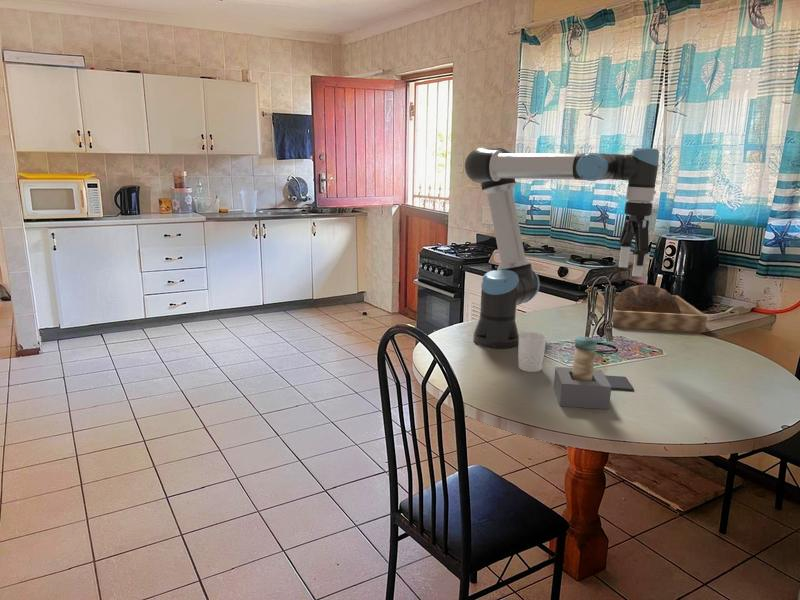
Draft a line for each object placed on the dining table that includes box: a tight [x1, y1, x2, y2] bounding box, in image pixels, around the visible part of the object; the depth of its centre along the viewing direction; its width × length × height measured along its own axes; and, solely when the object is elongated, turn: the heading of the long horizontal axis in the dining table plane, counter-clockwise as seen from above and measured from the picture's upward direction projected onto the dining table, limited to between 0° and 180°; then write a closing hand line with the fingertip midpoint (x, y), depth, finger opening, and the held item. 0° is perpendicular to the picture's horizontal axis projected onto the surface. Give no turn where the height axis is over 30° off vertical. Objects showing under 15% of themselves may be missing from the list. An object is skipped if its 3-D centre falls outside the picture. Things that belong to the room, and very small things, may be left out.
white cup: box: [517, 331, 547, 373], centre depth 173 cm, size 8×8×10 cm
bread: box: [614, 284, 681, 314], centre depth 231 cm, size 26×27×13 cm
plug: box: [572, 336, 598, 381], centre depth 152 cm, size 5×5×16 cm
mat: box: [604, 374, 635, 392], centre depth 164 cm, size 9×9×1 cm
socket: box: [553, 366, 612, 410], centre depth 153 cm, size 12×12×6 cm
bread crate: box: [595, 291, 708, 333], centre depth 231 cm, size 33×32×6 cm
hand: (629, 271), depth 180 cm, fingers open, 13 cm apart
